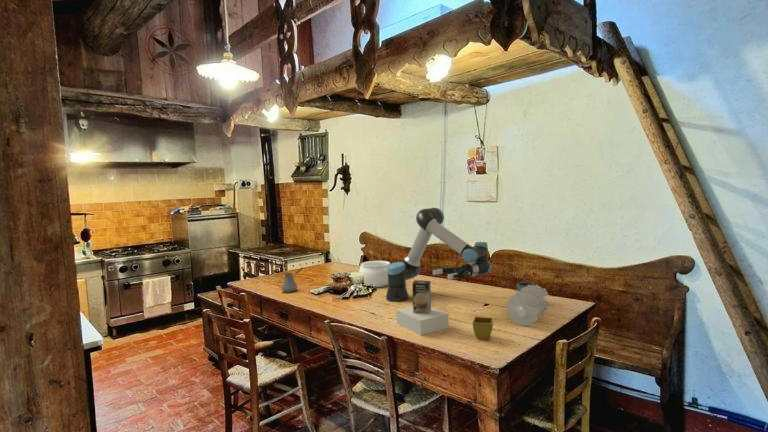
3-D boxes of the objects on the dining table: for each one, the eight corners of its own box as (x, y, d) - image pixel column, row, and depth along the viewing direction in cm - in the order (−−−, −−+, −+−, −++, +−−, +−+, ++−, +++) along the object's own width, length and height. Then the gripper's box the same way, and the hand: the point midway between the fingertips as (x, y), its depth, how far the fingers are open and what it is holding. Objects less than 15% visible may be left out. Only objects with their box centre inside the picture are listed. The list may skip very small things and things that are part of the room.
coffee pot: (289, 293, 289) (288, 273, 288) (278, 292, 295) (277, 272, 294) (309, 287, 307) (308, 267, 306) (298, 285, 313) (297, 266, 312)
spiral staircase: (513, 333, 208) (526, 317, 228) (545, 324, 198) (556, 308, 218) (497, 301, 210) (512, 287, 231) (528, 290, 200) (540, 277, 221)
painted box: (396, 324, 219) (396, 309, 218) (423, 317, 228) (423, 303, 227) (420, 336, 200) (420, 320, 199) (448, 328, 209) (448, 313, 208)
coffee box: (412, 313, 211) (411, 283, 210) (414, 309, 218) (413, 280, 216) (429, 313, 209) (428, 283, 208) (431, 310, 215) (430, 280, 214)
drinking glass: (515, 304, 245) (515, 284, 244) (518, 299, 253) (518, 281, 253) (533, 306, 240) (533, 286, 239) (535, 301, 249) (535, 282, 248)
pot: (401, 283, 309) (401, 262, 308) (378, 290, 289) (378, 268, 288) (373, 278, 328) (373, 258, 327) (350, 285, 309) (349, 264, 307)
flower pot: (472, 340, 191) (472, 322, 190) (475, 334, 199) (474, 316, 198) (491, 342, 188) (491, 323, 187) (493, 335, 196) (493, 317, 195)
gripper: (484, 280, 227) (454, 285, 217) (455, 272, 249) (427, 277, 238) (484, 267, 227) (454, 272, 216) (455, 260, 248) (427, 264, 238)
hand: (440, 274), depth 227 cm, fingers open, 13 cm apart
